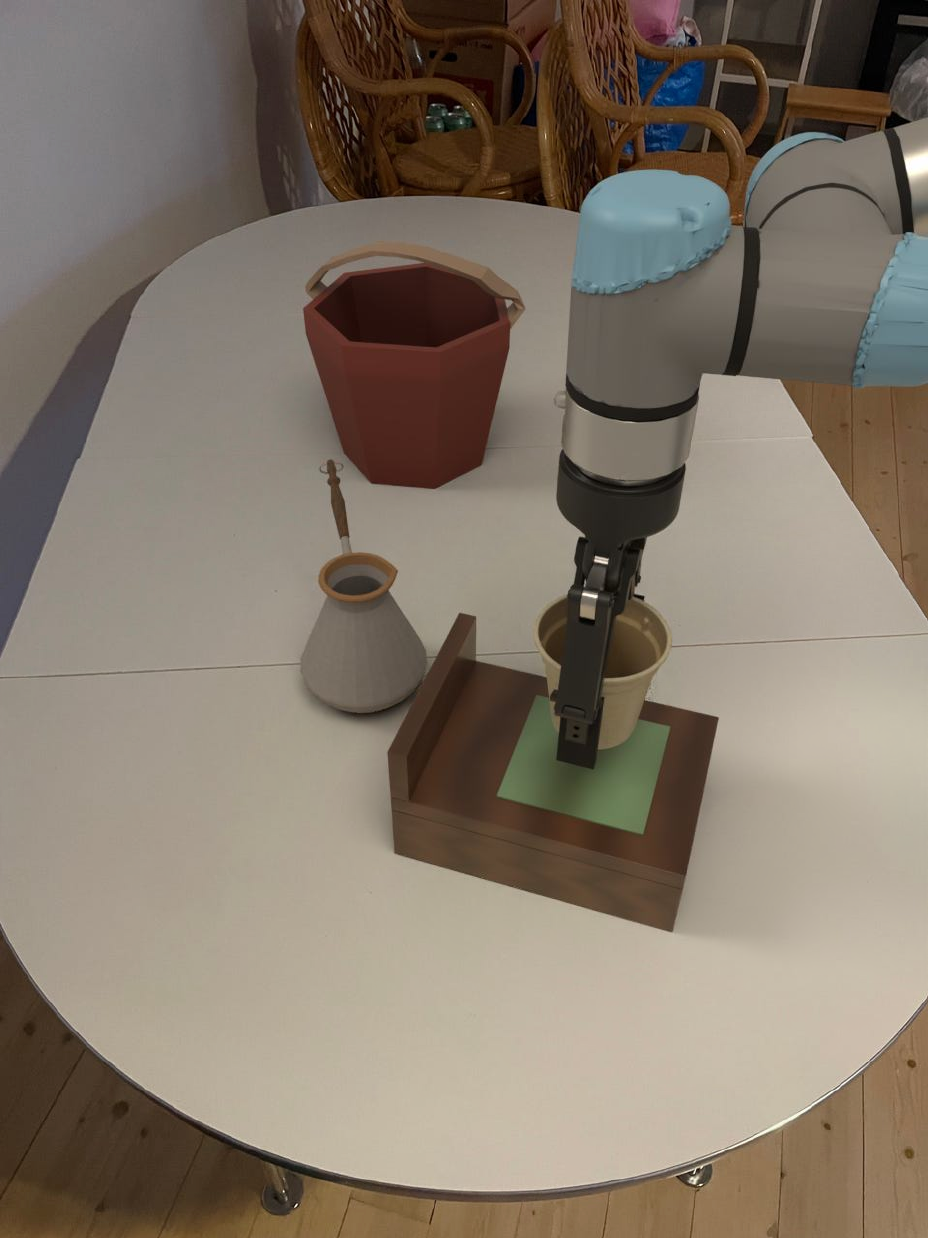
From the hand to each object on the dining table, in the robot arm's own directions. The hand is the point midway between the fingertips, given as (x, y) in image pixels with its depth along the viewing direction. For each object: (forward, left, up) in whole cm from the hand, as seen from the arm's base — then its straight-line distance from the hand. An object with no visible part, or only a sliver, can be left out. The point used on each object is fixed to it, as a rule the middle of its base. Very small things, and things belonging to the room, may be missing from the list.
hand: (590, 716), depth 77 cm
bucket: (+32, -47, -12) cm, 58 cm away
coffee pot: (+25, -13, -12) cm, 31 cm away
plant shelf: (+2, 0, -12) cm, 12 cm away
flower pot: (0, 0, -1) cm, 1 cm away
